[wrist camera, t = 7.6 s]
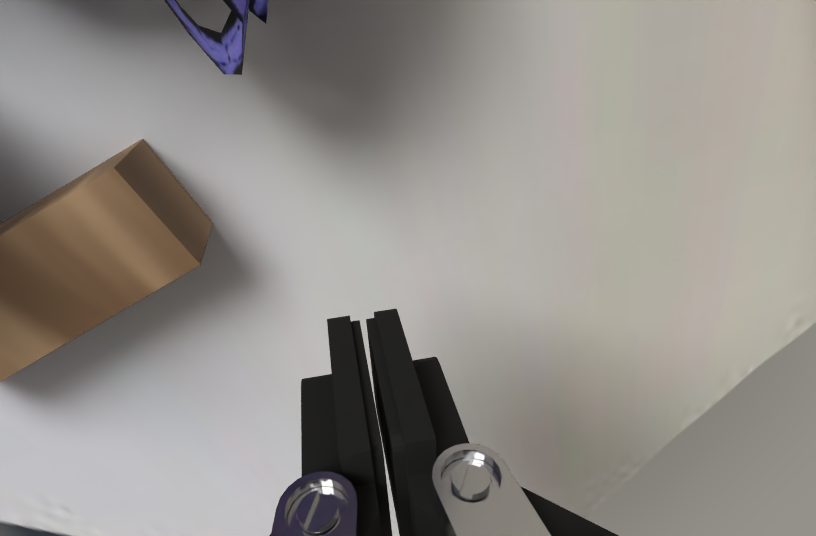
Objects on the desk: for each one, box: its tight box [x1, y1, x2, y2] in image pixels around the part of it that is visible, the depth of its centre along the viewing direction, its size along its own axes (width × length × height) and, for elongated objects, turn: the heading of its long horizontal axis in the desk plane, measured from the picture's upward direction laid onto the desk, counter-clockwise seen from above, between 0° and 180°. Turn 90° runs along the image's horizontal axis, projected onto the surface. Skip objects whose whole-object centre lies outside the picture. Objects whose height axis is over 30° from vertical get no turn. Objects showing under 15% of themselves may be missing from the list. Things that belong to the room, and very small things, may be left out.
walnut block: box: [0, 139, 213, 382], centre depth 18 cm, size 4×4×12 cm
